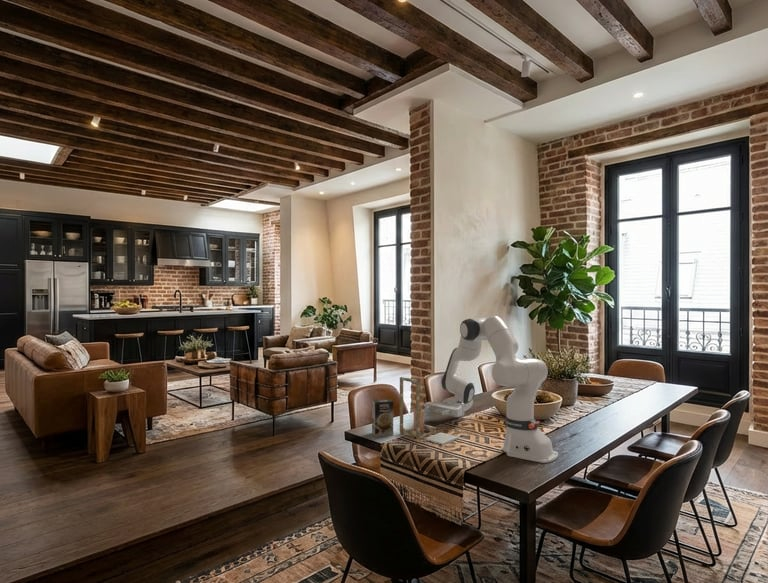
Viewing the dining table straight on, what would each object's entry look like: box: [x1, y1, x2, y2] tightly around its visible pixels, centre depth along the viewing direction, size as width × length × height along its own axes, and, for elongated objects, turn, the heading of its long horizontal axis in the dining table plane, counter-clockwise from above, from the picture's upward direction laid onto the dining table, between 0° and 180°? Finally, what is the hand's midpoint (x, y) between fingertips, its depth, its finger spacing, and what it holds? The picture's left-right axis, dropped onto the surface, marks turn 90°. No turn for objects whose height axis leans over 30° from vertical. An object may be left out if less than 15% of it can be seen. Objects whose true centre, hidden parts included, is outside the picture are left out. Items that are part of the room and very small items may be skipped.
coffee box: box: [371, 398, 394, 438], centre depth 220 cm, size 9×6×16 cm
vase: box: [413, 402, 425, 435], centre depth 222 cm, size 5×5×14 cm
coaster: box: [424, 432, 459, 446], centre depth 212 cm, size 10×12×1 cm
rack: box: [399, 376, 437, 440], centre depth 221 cm, size 11×14×27 cm
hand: (433, 411), depth 230 cm, fingers open, 8 cm apart
